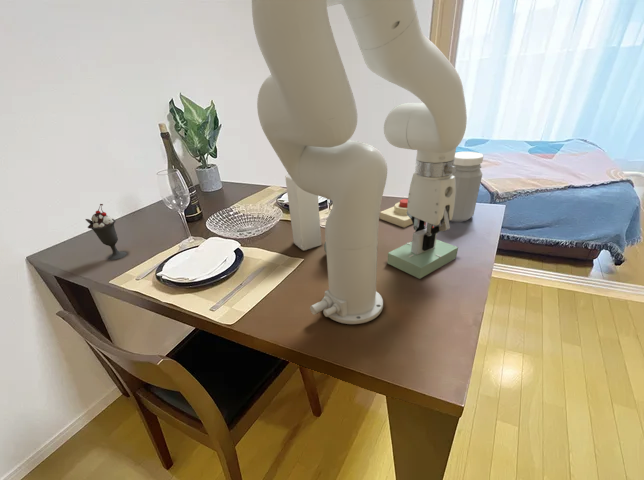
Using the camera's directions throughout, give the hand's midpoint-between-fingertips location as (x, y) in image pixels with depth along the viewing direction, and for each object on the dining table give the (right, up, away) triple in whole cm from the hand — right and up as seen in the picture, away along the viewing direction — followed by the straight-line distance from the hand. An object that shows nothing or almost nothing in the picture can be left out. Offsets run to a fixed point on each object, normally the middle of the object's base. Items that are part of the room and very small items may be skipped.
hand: (423, 246), depth 80 cm
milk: (-29, +3, +14) cm, 32 cm away
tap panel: (0, -3, +2) cm, 4 cm away
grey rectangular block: (0, -1, +1) cm, 1 cm away
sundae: (-84, 0, +16) cm, 86 cm away
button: (+1, +16, +22) cm, 28 cm away
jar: (+17, +13, +22) cm, 31 cm away
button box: (+2, +13, +25) cm, 28 cm away
